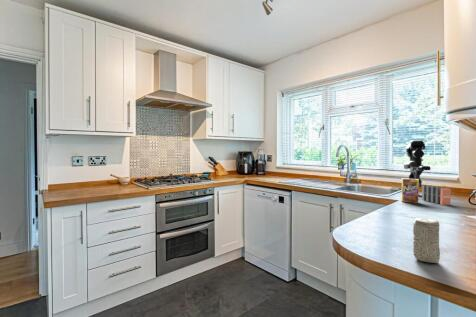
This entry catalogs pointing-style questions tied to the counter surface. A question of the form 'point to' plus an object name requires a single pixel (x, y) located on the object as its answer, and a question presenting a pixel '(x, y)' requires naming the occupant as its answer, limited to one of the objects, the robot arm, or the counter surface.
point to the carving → (426, 240)
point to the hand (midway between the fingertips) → (416, 179)
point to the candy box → (410, 190)
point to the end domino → (445, 197)
